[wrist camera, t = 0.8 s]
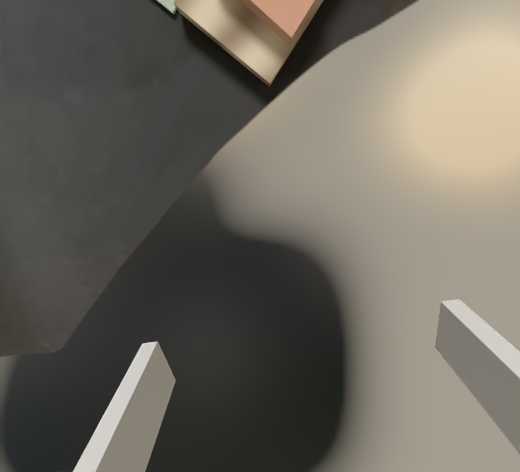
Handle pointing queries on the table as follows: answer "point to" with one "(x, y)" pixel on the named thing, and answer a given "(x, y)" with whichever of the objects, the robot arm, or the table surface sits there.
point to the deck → (243, 34)
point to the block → (281, 14)
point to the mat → (168, 5)
